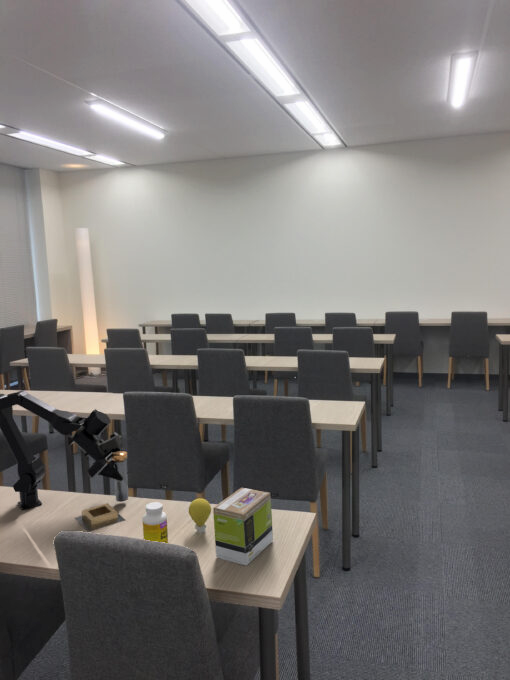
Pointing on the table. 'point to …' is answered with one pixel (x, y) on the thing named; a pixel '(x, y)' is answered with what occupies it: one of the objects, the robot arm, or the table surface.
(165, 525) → the supplement bottle
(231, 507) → the tea box
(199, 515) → the light bulb
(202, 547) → the table surface
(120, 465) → the copper capped grey cylinder
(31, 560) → the table surface
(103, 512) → the tan square base
